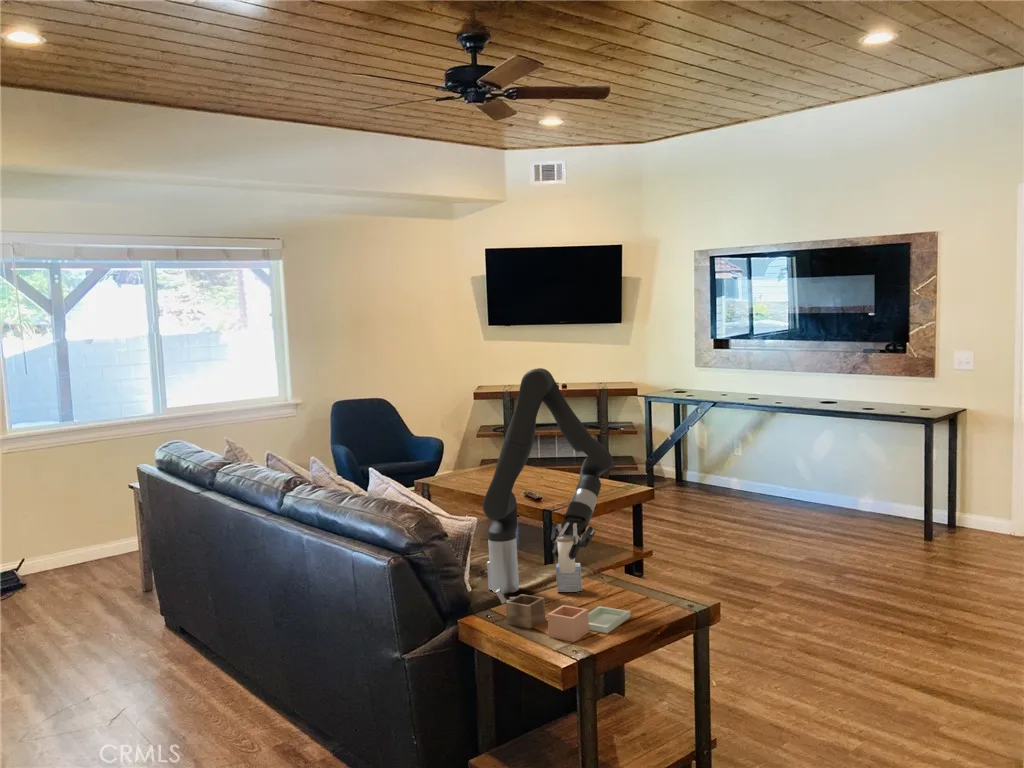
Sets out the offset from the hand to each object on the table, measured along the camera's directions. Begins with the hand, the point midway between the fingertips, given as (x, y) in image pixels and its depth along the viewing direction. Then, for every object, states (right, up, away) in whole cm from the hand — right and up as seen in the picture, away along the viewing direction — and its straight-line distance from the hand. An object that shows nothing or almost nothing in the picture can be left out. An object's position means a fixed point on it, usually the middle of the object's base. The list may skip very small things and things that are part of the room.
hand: (563, 556), depth 221 cm
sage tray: (+11, -18, -6) cm, 22 cm away
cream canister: (+1, -4, +2) cm, 5 cm away
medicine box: (+4, -17, +25) cm, 31 cm away
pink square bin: (+1, -19, -14) cm, 23 cm away
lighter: (-16, -19, +6) cm, 25 cm away
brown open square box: (-11, -19, -2) cm, 22 cm away
